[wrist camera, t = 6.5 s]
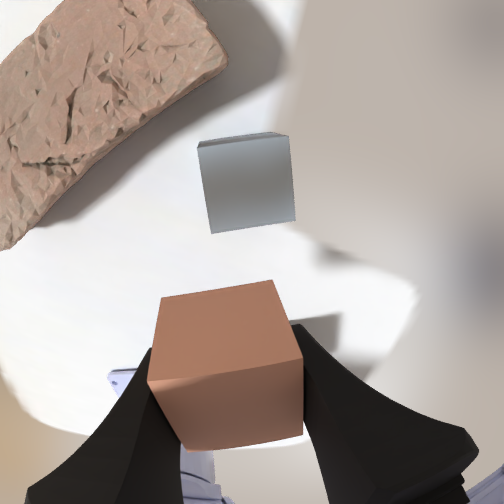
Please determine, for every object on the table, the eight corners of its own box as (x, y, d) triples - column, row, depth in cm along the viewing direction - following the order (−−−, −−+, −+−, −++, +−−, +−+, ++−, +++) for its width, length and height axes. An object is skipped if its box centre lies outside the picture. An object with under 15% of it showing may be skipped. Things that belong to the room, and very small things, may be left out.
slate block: (277, 199, 18) (295, 220, 15) (210, 209, 18) (211, 233, 14) (270, 132, 16) (288, 136, 13) (199, 141, 16) (197, 148, 12)
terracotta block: (279, 358, 13) (302, 434, 9) (187, 373, 12) (187, 452, 9) (272, 279, 11) (303, 357, 7) (161, 297, 11) (146, 381, 7)
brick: (30, 236, 17) (-5, 267, 13) (-29, 147, 13) (-71, 160, 9) (231, 72, 15) (240, 56, 11) (156, -25, 11) (143, -62, 7)
